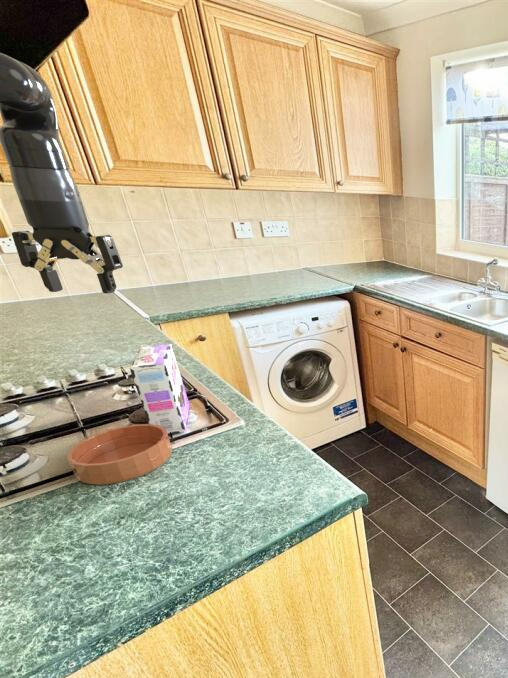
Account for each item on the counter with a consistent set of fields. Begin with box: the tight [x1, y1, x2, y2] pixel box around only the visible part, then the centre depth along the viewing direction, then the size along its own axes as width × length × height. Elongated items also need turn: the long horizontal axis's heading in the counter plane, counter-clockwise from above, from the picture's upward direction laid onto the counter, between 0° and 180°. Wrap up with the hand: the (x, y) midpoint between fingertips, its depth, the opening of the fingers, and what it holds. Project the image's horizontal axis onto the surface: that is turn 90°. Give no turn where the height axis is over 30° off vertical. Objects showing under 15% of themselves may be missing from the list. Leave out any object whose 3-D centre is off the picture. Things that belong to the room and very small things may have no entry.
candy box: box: [129, 343, 191, 436], centre depth 92 cm, size 14×6×16 cm, turn 31°
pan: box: [66, 423, 173, 486], centre depth 81 cm, size 14×14×4 cm
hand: (83, 291), depth 78 cm, fingers open, 8 cm apart
